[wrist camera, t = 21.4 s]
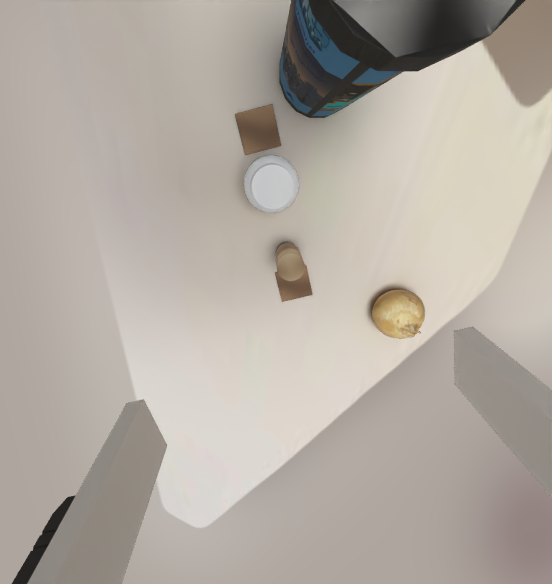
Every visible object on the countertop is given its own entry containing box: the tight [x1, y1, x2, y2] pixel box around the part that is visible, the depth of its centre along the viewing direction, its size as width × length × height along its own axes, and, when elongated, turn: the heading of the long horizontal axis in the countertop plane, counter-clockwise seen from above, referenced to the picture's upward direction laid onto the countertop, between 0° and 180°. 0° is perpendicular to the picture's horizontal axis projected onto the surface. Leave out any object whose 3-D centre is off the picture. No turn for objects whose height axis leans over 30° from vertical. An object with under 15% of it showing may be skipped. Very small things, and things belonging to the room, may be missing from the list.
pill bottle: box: [244, 155, 299, 213], centre depth 40 cm, size 6×6×12 cm
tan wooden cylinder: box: [276, 242, 305, 281], centre depth 45 cm, size 4×4×8 cm
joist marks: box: [235, 104, 312, 302], centre depth 47 cm, size 28×5×1 cm, turn 14°
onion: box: [372, 290, 425, 339], centre depth 50 cm, size 8×8×7 cm
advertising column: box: [280, 0, 525, 118], centre depth 26 cm, size 11×11×30 cm
